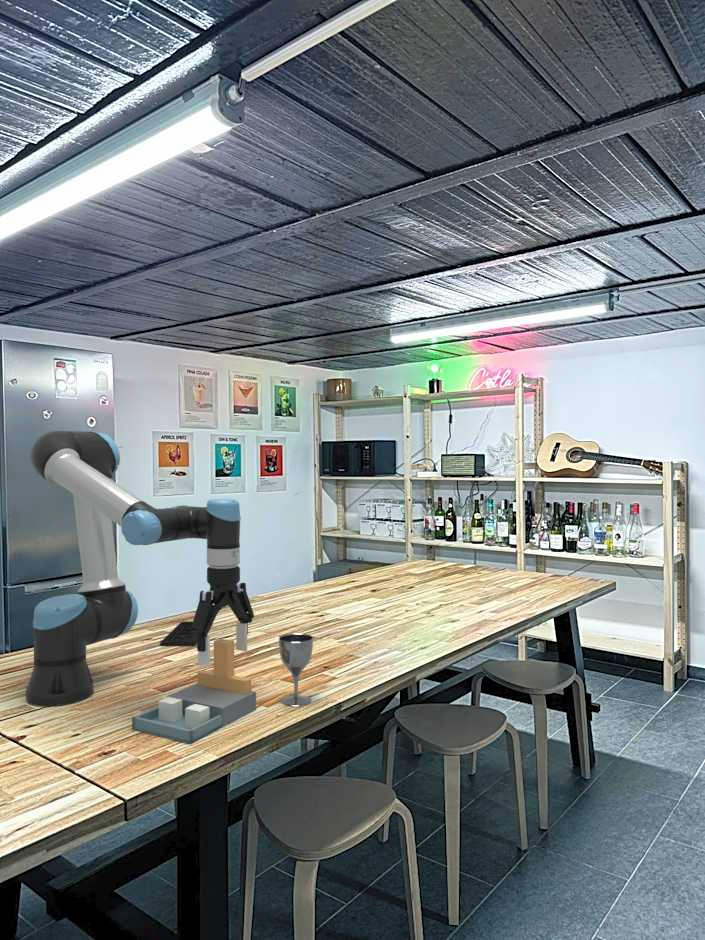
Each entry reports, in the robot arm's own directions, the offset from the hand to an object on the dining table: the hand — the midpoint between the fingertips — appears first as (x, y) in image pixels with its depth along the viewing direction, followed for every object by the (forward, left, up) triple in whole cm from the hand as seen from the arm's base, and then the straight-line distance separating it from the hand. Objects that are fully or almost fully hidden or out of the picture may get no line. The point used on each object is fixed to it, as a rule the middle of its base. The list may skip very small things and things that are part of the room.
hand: (223, 657), depth 161 cm
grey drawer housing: (0, -4, -11) cm, 12 cm away
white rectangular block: (+4, -12, -9) cm, 16 cm away
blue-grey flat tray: (0, -15, -11) cm, 19 cm away
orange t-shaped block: (0, 0, -7) cm, 7 cm away
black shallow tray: (-49, +47, -12) cm, 69 cm away
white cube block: (-4, -12, -9) cm, 15 cm away
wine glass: (+13, +11, -11) cm, 20 cm away
